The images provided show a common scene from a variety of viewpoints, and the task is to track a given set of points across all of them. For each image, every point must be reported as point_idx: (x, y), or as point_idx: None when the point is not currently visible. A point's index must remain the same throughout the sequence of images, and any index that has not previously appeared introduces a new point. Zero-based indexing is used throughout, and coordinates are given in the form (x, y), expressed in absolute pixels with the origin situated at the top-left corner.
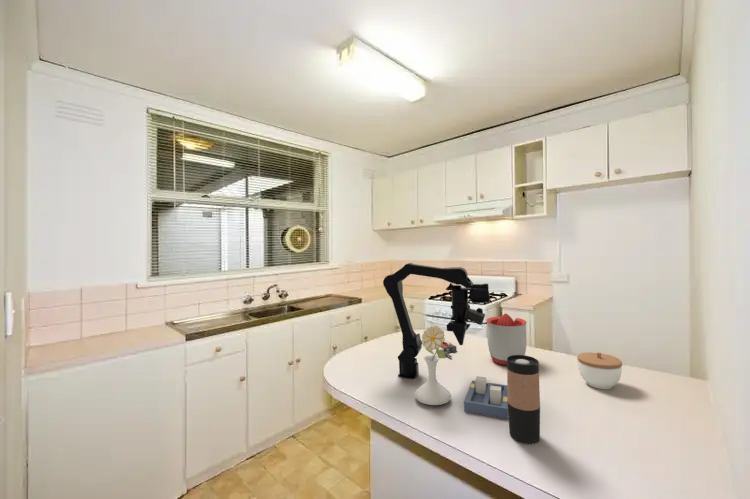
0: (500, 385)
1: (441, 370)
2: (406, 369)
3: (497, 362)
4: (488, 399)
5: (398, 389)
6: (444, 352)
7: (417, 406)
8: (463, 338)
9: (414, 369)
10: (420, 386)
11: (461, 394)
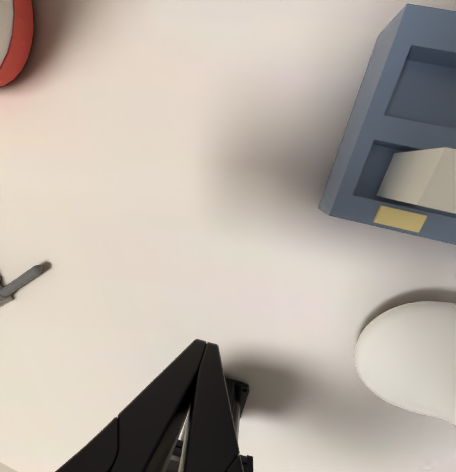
0: (400, 68)
1: (161, 303)
2: (238, 430)
3: (22, 64)
4: None
5: (326, 421)
6: (9, 291)
7: None
8: (219, 419)
9: (233, 408)
10: (403, 408)
11: (366, 252)
